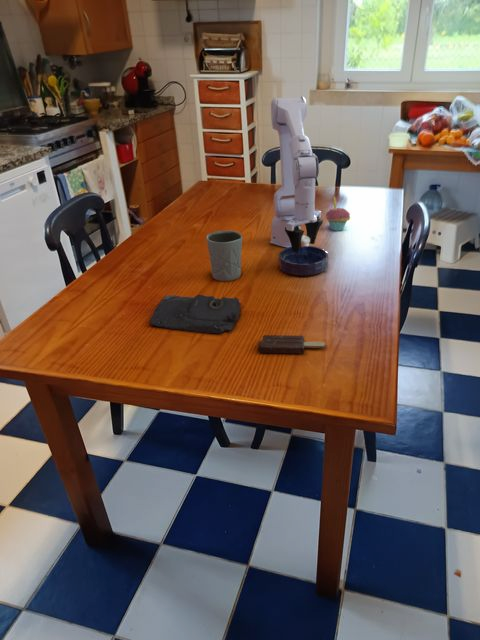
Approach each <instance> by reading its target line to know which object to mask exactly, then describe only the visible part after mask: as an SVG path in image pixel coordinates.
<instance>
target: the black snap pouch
mask: <svg viewBox="0 0 480 640" xmlns="http://www.w3.org/2000/svg"><path fill="white" fill-rule="evenodd" d="M241 305H242V303H241V302H240V299H239V298H238V297H226V296H222V297H221V298H216V297H215V296H214V295H209V296H208V295H204V294H197V295H195V296H194V297H193V296H179V295H174V294H173V295H169V294H168V295H165V296H164V297H163V298H162V299H160V301H159V303H158V304H157V305H156V306H155V308H154V310H153V312H152V315H150V318H149V319H150V320H149V321H150V322H149V325H151V326H155V327H158V328H162V329H169V330H175V331H183V332H192V333H193V332H194V333H195V332H196V333H204V334H205V333H207V334H219V335H220V334H222V333H224V332H231V331H232V330H233V329H235V324H236V323H237V321H238V320H239V317H240V314H241V309H242V308H241Z"/></svg>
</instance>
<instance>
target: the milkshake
mask: <svg viewBox="0 0 480 640" xmlns="http://www.w3.org/2000/svg"><path fill="white" fill-rule="evenodd" d="M309 246H311V244H310V238H309V237H308V236H307V235H304V234H303V235H302V239H301V246H300V251H299V252H296V263H297V264H308V254H309Z"/></svg>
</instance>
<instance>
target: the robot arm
mask: <svg viewBox="0 0 480 640" xmlns="http://www.w3.org/2000/svg"><path fill="white" fill-rule="evenodd" d="M306 116H307V100H306V98H305V97H304V96H303V95H302V96H295V97H273V98H272V100H271V102H270V117H271V118H270V119H271V127H272V129H273V130H275V131H277V134H278V139H279V140H278V141H279V157H280V159H279V160H280V176H281V177H280V178H281V187H280V188H279V189H277V190H276V191H275V192H274V195H273V213H274V216H273V217H272V220H271V224H270V227H271V228H270V229H271V230H270V233H271V241H269V244H272V245H275V246H278V247H279V246H280V247H283V248H288V247H292V250H293V251H295V252H299V251H300V246H301V239H302V235H304V233H305V230H306V236H308V237H309V238H310V245H314V244H315V243H316V239H317V236H318V233H319V230H320V229H321V226H322V225H323V223H324V222H323V221H324V220H323V219H320V218H321V217H322V210H319V209H316V207H315V206H316V205H315V203H316V179H318V177H319V174H320V162H319V158H318V156H317V155H316V154H315V153H313V150H312V146H311V141H310V138H309V137H308V136H307V135H306V134H305V133H304V132H305V131H304V125H303V123H304V122H305V118H306ZM303 225H304V226H305V230H303V229H301V226H303Z"/></svg>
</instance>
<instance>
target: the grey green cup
mask: <svg viewBox="0 0 480 640" xmlns="http://www.w3.org/2000/svg"><path fill="white" fill-rule="evenodd" d="M205 238H206V244H207V250H208V253H209V262H210V266H211V267H210V268H211V269H210V270H211V275H212V278H213V279H214V280H217V281H218V282H219V281H220V282H230V281H235V280H237V279H239V278H240V277H241V275H242V250H243V249H242V248H243V247H242V246H243V235H242V233H240V232H238V231H235V230H218V231H213V232H210V233H209V234H207V235H206V237H205Z"/></svg>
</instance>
